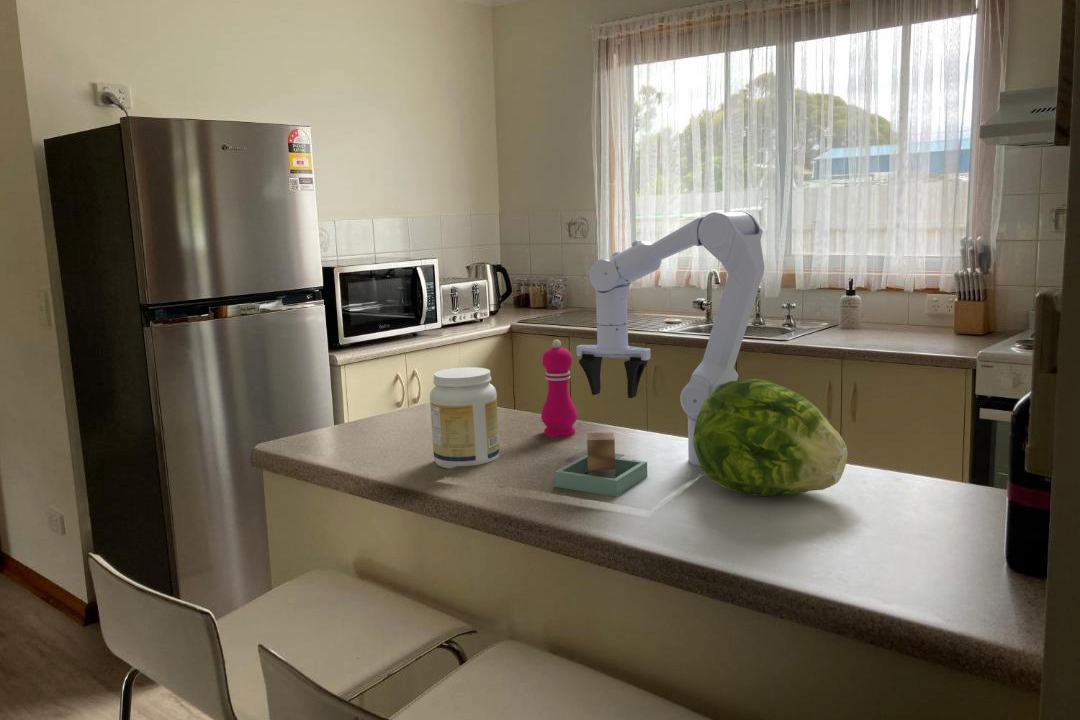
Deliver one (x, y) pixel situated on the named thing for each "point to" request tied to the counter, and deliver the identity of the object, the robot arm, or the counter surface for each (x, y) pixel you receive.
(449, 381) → the supplement tub
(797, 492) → the lettuce
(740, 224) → the robot arm
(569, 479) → the bin
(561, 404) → the pepper mill
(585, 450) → the base
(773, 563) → the counter surface
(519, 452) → the counter surface
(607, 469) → the strut
